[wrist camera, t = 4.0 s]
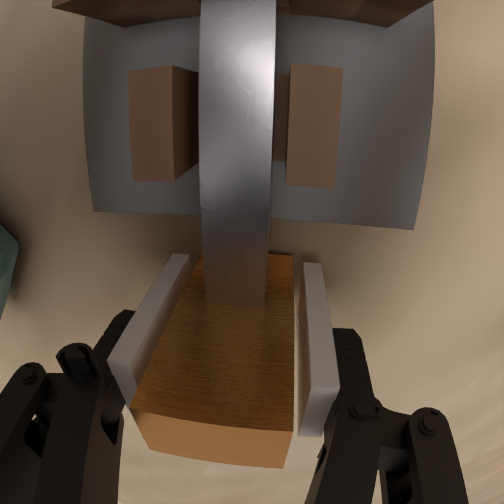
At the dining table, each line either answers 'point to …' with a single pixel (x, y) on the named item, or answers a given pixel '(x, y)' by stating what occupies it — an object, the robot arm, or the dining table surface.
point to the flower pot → (6, 263)
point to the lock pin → (229, 268)
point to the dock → (286, 107)
